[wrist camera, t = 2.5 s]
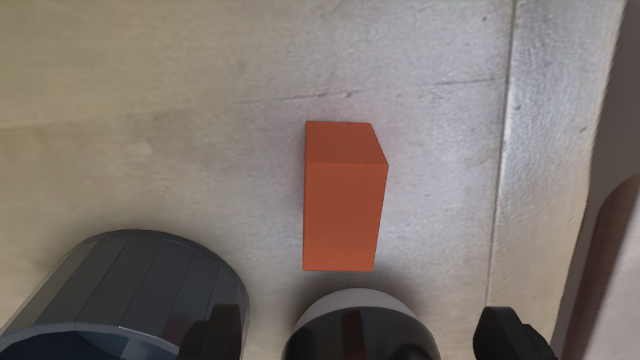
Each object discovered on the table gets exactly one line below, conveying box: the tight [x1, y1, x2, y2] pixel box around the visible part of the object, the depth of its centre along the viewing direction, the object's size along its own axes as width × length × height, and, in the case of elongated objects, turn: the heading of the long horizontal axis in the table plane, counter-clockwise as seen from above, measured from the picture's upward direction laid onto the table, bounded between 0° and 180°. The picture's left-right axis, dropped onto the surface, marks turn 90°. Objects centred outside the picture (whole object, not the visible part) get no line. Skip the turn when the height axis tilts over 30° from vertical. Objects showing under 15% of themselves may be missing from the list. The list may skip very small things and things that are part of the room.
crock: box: [0, 230, 250, 360], centre depth 23 cm, size 13×13×7 cm
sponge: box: [303, 121, 389, 271], centre depth 19 cm, size 4×6×5 cm, turn 177°
